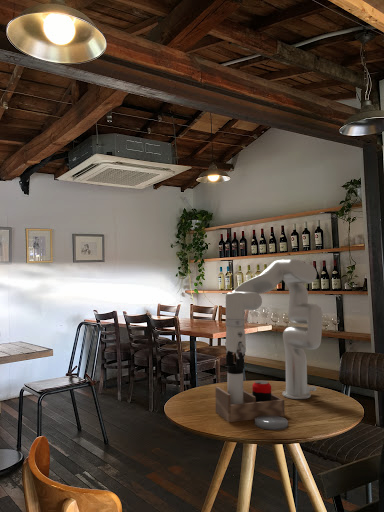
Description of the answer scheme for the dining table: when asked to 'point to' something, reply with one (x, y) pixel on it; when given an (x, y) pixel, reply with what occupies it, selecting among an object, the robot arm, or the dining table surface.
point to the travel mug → (235, 384)
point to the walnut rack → (247, 406)
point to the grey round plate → (271, 422)
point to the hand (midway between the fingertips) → (234, 366)
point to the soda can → (261, 391)
